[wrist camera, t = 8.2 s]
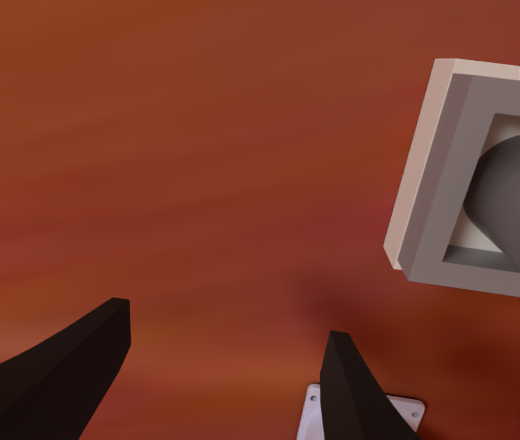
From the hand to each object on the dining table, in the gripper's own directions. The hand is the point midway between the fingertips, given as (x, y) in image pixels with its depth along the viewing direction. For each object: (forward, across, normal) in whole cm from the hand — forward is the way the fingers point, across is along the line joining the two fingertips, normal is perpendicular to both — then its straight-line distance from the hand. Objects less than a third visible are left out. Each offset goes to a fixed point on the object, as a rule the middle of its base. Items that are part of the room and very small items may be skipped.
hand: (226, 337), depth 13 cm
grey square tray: (+9, -12, -5) cm, 16 cm away
